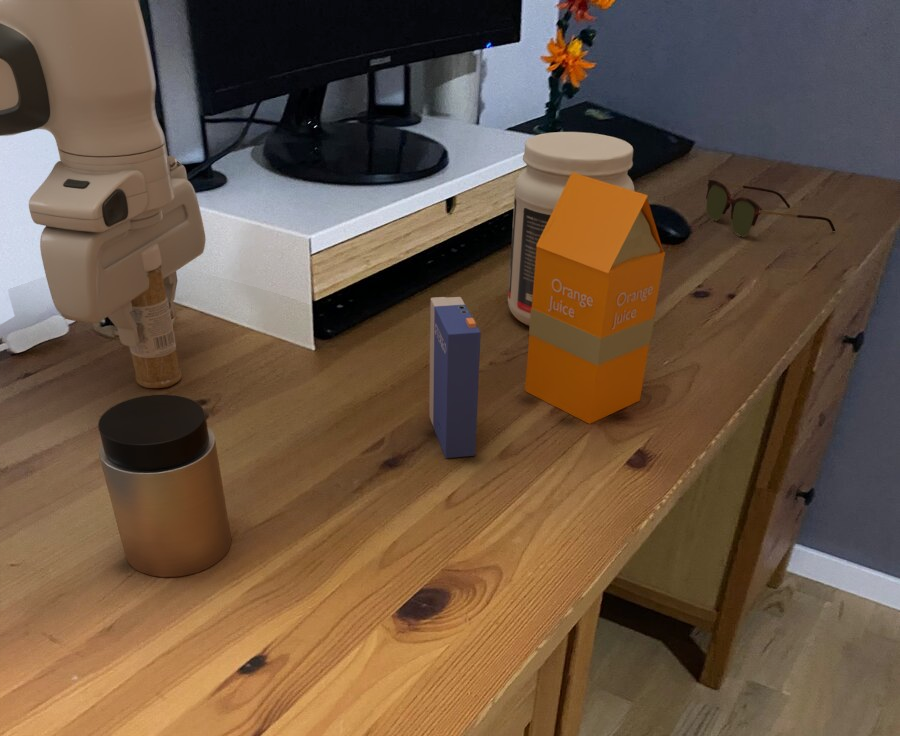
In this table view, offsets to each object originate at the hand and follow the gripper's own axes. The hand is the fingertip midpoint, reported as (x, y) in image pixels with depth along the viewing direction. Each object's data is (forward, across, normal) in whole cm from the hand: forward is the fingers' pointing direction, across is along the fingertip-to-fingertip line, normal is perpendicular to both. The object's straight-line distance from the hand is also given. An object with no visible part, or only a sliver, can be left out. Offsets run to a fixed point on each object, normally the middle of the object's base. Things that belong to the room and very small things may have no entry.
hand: (149, 331), depth 88 cm
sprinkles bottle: (+5, 0, 0) cm, 5 cm away
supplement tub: (+5, -30, +35) cm, 46 cm away
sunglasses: (+5, -74, +57) cm, 94 cm away
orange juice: (+5, -11, +41) cm, 43 cm away
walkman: (+5, +1, +31) cm, 31 cm away
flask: (+5, +24, +16) cm, 29 cm away
